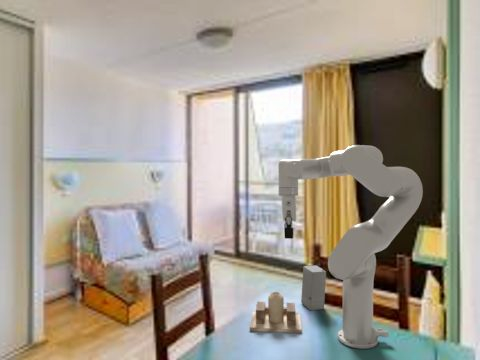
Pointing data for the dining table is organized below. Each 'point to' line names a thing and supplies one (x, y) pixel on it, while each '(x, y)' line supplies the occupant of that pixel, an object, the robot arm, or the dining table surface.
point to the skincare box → (313, 287)
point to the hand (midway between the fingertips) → (288, 235)
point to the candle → (276, 307)
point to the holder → (288, 325)
